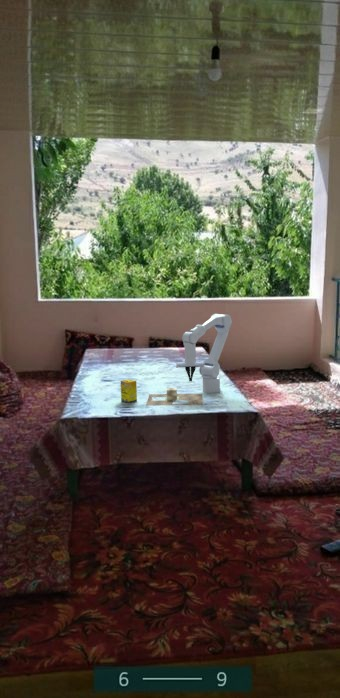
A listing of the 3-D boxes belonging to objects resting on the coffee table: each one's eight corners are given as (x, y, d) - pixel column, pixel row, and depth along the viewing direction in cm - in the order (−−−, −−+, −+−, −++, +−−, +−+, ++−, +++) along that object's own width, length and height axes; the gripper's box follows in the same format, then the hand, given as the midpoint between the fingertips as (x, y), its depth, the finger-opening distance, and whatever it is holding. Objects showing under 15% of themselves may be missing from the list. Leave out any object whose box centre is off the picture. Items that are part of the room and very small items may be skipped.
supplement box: (120, 401, 271) (120, 380, 269) (129, 399, 275) (129, 378, 274) (128, 403, 267) (127, 382, 265) (137, 401, 271) (136, 380, 269)
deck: (202, 396, 277) (202, 393, 277) (203, 407, 256) (203, 404, 255) (149, 397, 279) (149, 394, 278) (145, 408, 257) (145, 405, 257)
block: (177, 397, 271) (176, 387, 270) (176, 399, 266) (176, 390, 265) (167, 397, 271) (167, 387, 270) (166, 399, 266) (166, 390, 265)
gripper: (175, 356, 266) (176, 382, 268) (204, 356, 266) (204, 382, 268) (176, 354, 273) (176, 379, 275) (204, 353, 273) (204, 379, 275)
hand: (190, 380), depth 272 cm, fingers closed
